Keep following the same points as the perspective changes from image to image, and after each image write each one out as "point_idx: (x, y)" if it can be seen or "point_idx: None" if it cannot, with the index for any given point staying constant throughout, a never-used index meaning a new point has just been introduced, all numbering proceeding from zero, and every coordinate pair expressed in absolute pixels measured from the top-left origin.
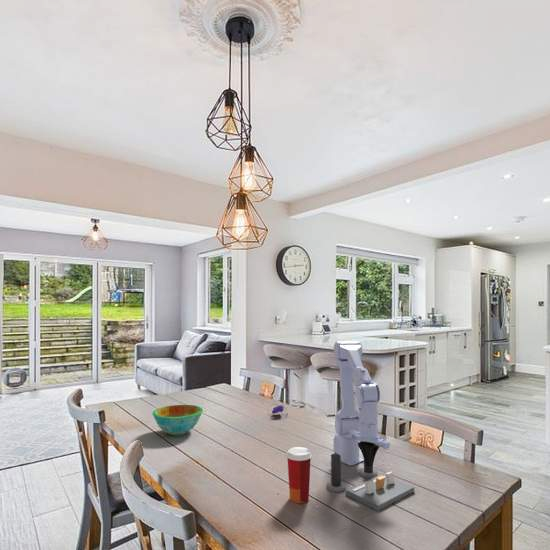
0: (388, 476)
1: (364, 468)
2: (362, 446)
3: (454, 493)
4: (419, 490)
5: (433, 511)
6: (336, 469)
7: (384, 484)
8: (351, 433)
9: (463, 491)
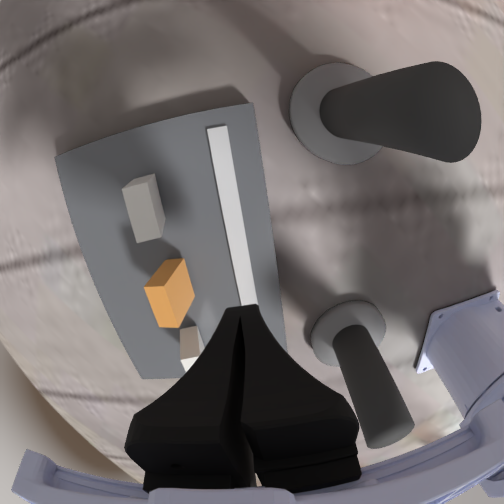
0: (180, 352)
1: (363, 333)
2: (249, 417)
3: (115, 418)
4: (152, 382)
5: (36, 319)
6: (360, 86)
7: (201, 316)
8: (499, 444)
9: (120, 433)
